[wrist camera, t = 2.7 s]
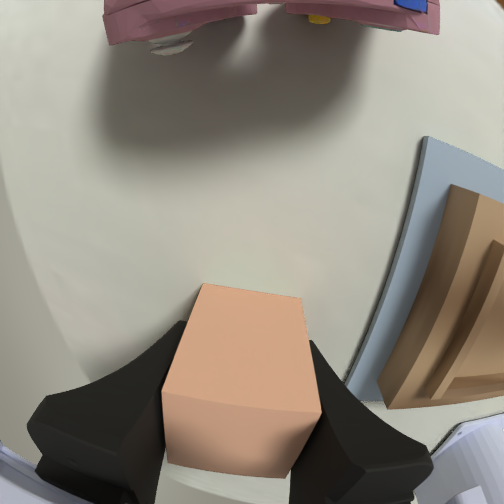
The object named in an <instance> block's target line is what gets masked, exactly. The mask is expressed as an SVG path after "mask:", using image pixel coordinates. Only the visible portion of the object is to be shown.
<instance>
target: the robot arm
mask: <svg viewBox="0 0 504 504" xmlns="http://www.w3.org/2000/svg"><path fill="white" fill-rule="evenodd" d="M187 323H188V322H186V321H181V320H180V321H178V322H177V323H176V324H175V325H174V326H173V327H172V328H171V329H170V330H169V331H168V332H167V333H166V334H165V335H164V336H163V337H162V338H161V339H159V340H158V341H157V342H156V343H155V344H154V345H152V346H151V347H150V348H149V349H148V350H146V351H145V352H144V353H142V354H141V355H140V356H138V357H137V358H136V359H134V360H133V361H132V362H130V363H129V364H127V365H125V366H124V367H122V368H121V369H119V370H117V371H115V372H113V373H112V374H110V375H108V376H106V377H104V378H102V379H99V380H97V381H95V382H93V383H90V384H87V385H85V386H82V387H79V388H76V389H73V390H69V391H66V392H62V393H57V394H53V395H48V396H46V397H45V398H44V399H43V401H42V402H41V403H40V404H39V406H38V407H37V409H36V410H35V412H34V413H33V415H32V417H31V418H30V420H29V421H28V423H27V430H28V432H29V434H30V436H31V438H32V440H33V441H34V443H35V444H36V446H37V447H38V449H39V450H40V452H41V453H42V455H43V456H42V457H41V459H40V461H39V463H38V465H35V464H33V463H32V462H30V461H28V460H26V459H25V458H23V457H21V456H20V455H18V454H16V453H14V452H13V451H11V450H10V449H8V448H6V447H5V446H3V444H2V442H1V440H0V504H154V503H155V497H156V491H157V485H158V480H159V475H160V470H161V466H162V461H163V457H164V452H165V448H166V441H165V431H164V419H163V405H162V389H163V386H164V383H165V380H166V378H167V375H168V372H169V370H170V367H171V364H172V362H173V359H174V356H175V354H176V351H177V349H178V346H179V343H180V341H181V338H182V336H183V333H184V330H185V328H186V325H187ZM309 344H310V349H311V354H312V360H313V365H314V371H315V376H316V382H317V388H318V393H319V399H320V405H321V411H322V413H321V415H320V417H319V419H318V421H317V423H316V425H315V427H314V429H313V431H312V433H311V434H310V436H309V438H308V440H307V442H306V444H305V445H304V447H303V449H302V451H301V453H300V454H299V456H298V458H297V460H296V461H295V463H294V465H293V466H292V468H291V478H290V495H289V504H411V503H410V502H411V501H413V500H414V495H413V490H415V494H416V497H417V501H418V504H504V431H503V429H504V413H503V414H499V415H495V416H491V417H487V418H483V419H478V420H474V421H469V422H464V423H462V424H460V425H459V426H458V427H457V428H456V429H455V430H454V431H453V433H452V434H451V435H450V436H449V437H448V438H447V439H446V441H445V442H444V443H443V444H442V445H441V446H440V447H439V448H438V449H437V451H436V452H435V453H434V454H433V455H432V456H431V457H430V454H429V451H428V449H427V447H426V445H424V444H422V443H420V442H418V441H416V440H414V439H412V438H410V437H408V436H406V435H404V434H402V433H401V432H399V431H398V430H396V429H394V428H393V427H391V426H390V425H388V424H387V423H385V422H384V421H383V420H381V419H380V418H379V417H378V416H376V415H375V414H374V413H373V412H371V411H370V410H369V409H368V408H367V407H366V406H365V405H363V404H362V403H361V402H360V401H359V400H358V399H357V398H356V397H355V396H354V395H353V394H352V393H351V392H350V390H349V389H348V388H347V387H346V386H345V385H344V384H343V382H342V381H341V380H340V379H339V377H338V376H337V375H336V374H335V372H334V371H333V370H332V368H331V367H330V366H329V364H328V363H327V361H326V360H325V358H324V357H323V355H322V354H321V353H320V351H319V350H318V348H317V347H316V345H315V344H314V342H313V341H312V340H309Z"/></svg>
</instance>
